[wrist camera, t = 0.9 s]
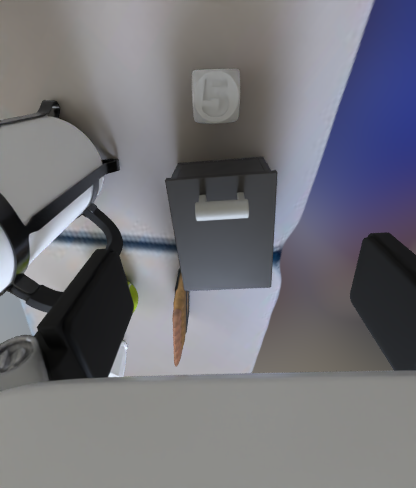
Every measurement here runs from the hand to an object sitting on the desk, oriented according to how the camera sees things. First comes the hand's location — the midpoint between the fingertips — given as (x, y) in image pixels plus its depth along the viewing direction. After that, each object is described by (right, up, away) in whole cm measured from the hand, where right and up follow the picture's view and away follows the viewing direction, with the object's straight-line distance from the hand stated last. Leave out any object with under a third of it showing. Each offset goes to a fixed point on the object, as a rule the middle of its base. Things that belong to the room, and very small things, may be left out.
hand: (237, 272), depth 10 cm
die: (0, +19, +22) cm, 29 cm away
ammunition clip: (-6, -8, +38) cm, 40 cm away
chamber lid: (+1, +2, +22) cm, 22 cm away
